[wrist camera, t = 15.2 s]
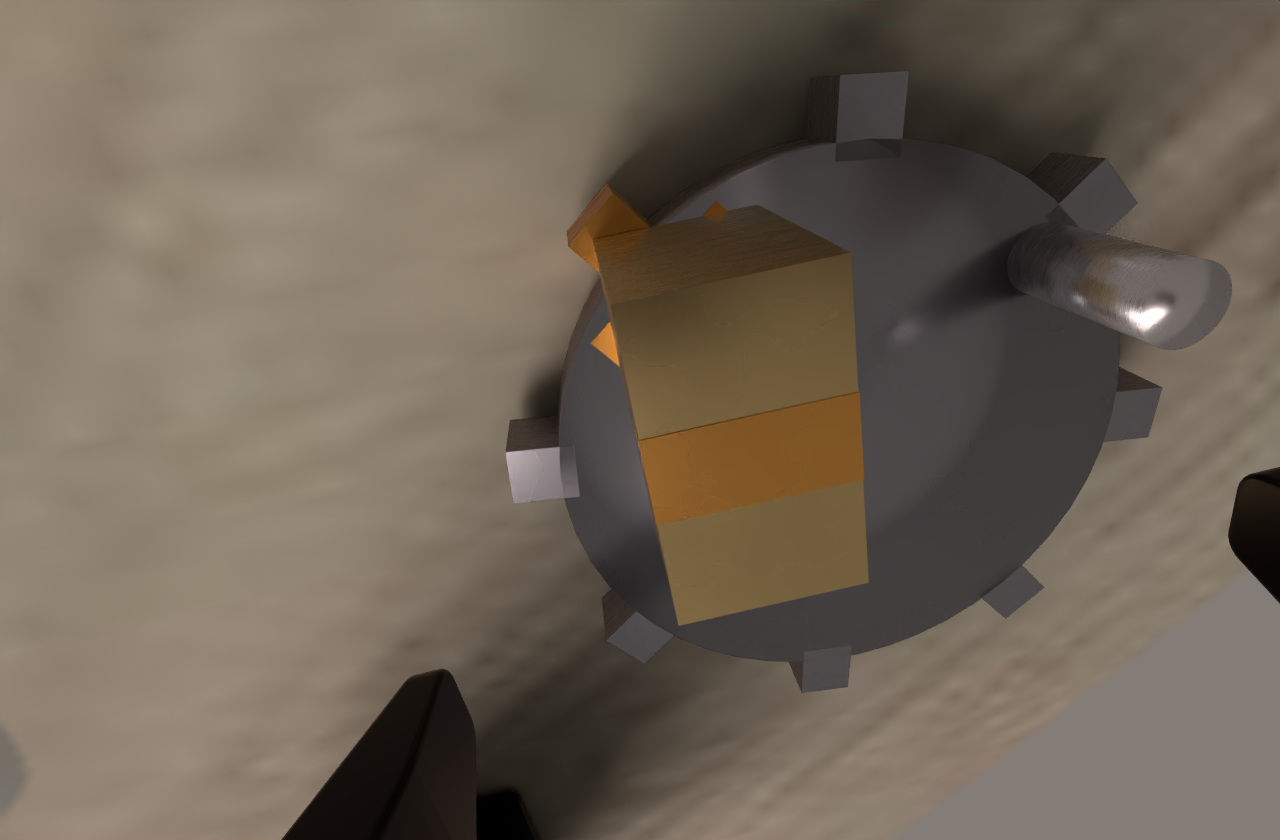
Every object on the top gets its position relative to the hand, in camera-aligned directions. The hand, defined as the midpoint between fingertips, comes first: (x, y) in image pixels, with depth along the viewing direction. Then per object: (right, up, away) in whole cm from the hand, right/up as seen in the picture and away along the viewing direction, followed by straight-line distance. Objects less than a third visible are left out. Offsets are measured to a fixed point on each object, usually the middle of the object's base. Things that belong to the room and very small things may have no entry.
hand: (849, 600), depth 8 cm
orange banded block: (-1, +3, +8) cm, 9 cm away
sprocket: (+2, +2, +12) cm, 12 cm away
